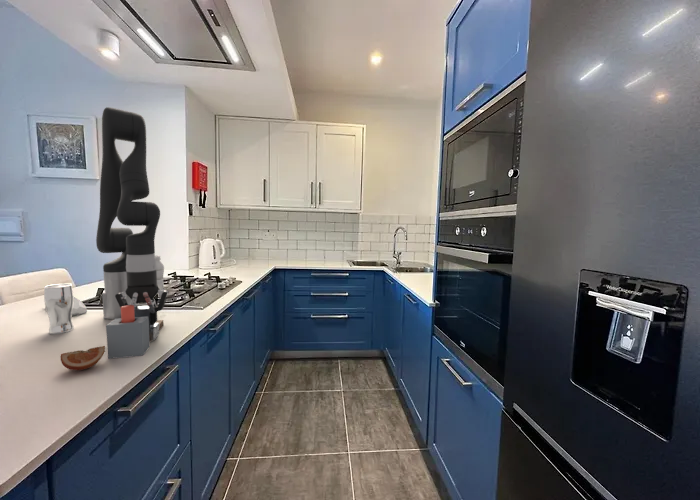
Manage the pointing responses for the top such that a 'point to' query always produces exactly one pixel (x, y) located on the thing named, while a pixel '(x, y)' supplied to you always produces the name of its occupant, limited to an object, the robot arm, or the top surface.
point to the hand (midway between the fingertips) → (144, 324)
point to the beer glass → (59, 307)
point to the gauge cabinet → (127, 338)
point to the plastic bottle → (159, 273)
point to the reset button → (127, 314)
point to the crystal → (78, 307)
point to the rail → (159, 326)
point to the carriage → (144, 312)
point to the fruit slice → (82, 358)
